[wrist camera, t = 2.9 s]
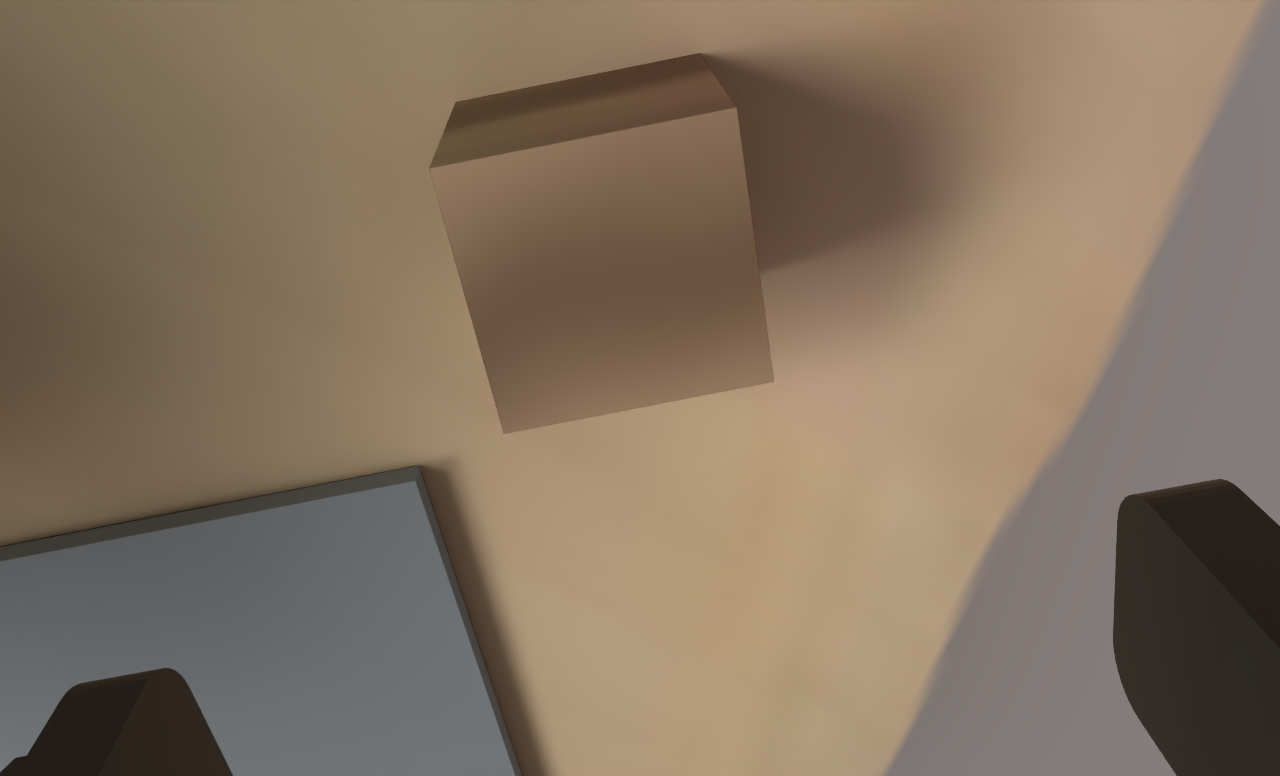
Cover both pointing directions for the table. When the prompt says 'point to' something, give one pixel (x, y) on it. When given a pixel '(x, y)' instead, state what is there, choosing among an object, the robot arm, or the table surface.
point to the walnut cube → (605, 242)
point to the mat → (267, 631)
